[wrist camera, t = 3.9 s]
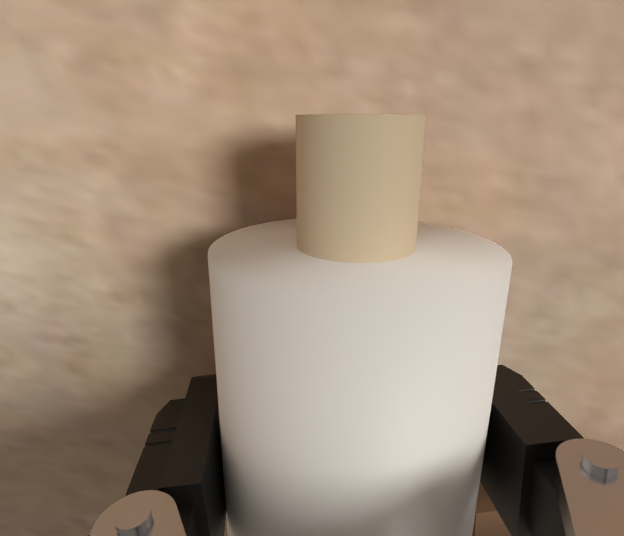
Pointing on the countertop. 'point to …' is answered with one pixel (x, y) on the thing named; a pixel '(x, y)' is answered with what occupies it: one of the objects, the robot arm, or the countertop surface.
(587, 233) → the countertop surface
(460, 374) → the roll
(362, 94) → the countertop surface
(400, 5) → the countertop surface
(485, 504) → the holder
